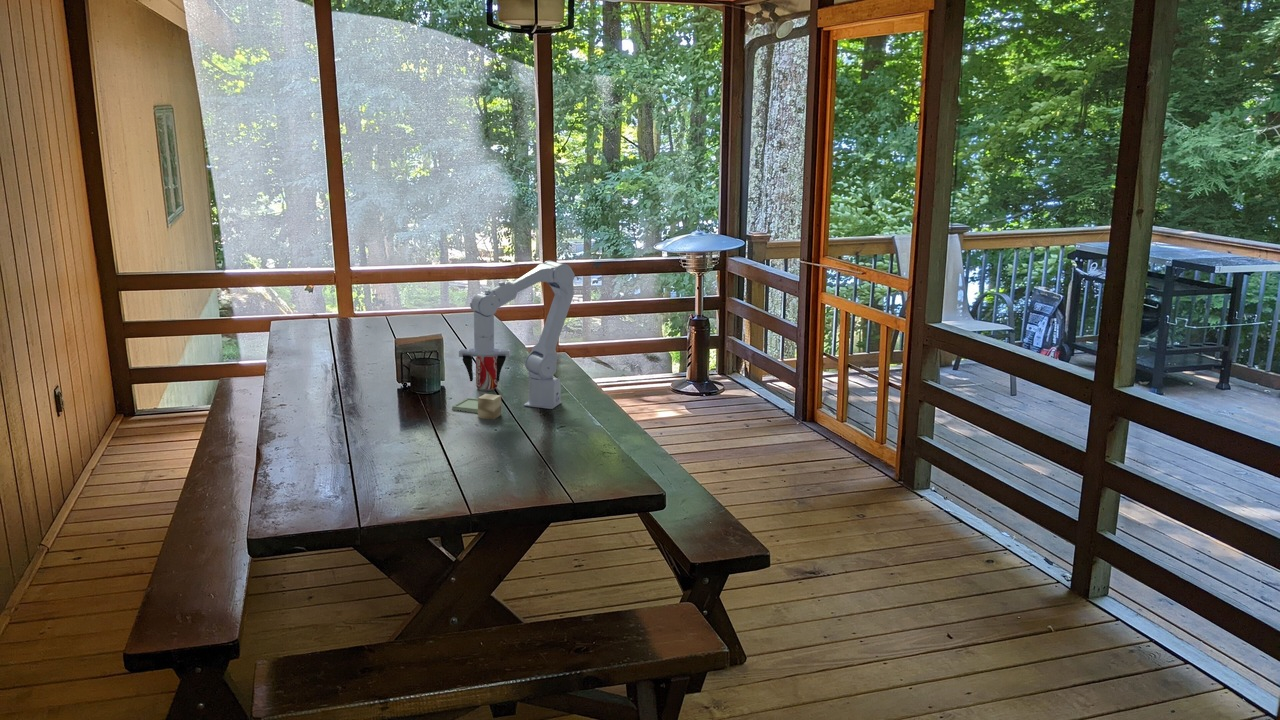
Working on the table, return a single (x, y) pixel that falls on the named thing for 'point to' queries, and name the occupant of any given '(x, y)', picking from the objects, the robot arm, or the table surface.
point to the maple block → (489, 406)
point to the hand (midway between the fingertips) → (484, 380)
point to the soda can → (486, 373)
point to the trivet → (467, 405)
